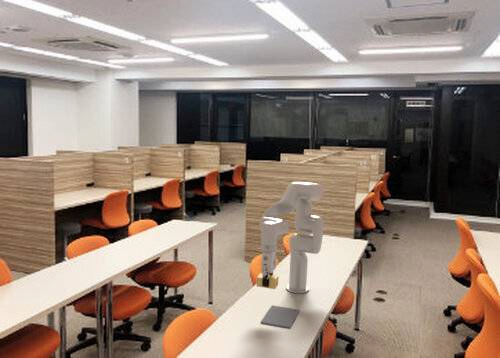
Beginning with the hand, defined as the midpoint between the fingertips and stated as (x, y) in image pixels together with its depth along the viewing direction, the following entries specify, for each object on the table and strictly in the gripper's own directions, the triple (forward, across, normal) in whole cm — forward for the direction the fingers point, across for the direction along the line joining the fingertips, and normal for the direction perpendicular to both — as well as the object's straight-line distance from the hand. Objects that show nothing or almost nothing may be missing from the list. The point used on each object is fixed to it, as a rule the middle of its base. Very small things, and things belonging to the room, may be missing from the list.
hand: (267, 283), depth 217 cm
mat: (+15, 0, -7) cm, 17 cm away
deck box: (+1, 0, 0) cm, 1 cm away
